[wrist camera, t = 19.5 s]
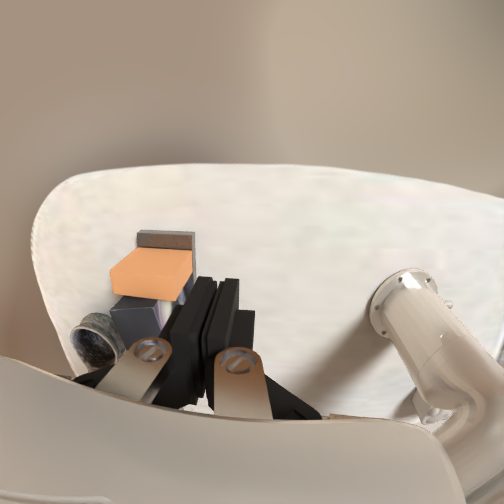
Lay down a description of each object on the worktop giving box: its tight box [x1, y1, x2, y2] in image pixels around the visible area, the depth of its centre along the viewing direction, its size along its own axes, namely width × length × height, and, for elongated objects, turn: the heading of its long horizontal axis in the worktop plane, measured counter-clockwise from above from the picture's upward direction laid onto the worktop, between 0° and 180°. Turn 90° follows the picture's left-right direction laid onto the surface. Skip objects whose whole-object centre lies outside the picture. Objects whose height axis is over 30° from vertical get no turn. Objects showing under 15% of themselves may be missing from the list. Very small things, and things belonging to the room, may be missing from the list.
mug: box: [70, 313, 125, 373], centre depth 40 cm, size 10×12×10 cm
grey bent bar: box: [137, 230, 196, 298], centre depth 35 cm, size 8×18×10 cm, turn 177°
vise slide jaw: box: [110, 247, 193, 301], centre depth 33 cm, size 8×3×8 cm, turn 88°
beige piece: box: [412, 389, 453, 425], centre depth 42 cm, size 10×13×9 cm
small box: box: [110, 287, 187, 351], centre depth 34 cm, size 11×6×10 cm, turn 9°
